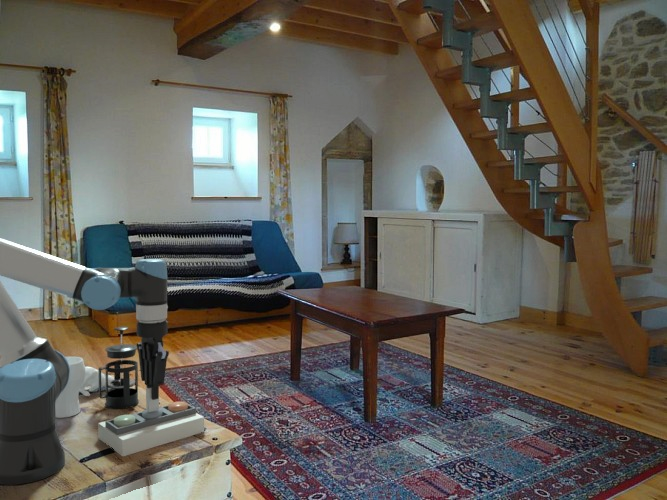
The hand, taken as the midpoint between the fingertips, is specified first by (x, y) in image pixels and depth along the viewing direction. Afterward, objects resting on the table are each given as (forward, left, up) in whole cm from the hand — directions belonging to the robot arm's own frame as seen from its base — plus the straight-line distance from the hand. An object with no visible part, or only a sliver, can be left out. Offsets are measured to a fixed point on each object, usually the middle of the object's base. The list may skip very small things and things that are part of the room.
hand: (152, 410), depth 145 cm
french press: (+19, +20, -7) cm, 28 cm away
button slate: (0, 0, -2) cm, 2 cm away
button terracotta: (+6, -4, -2) cm, 8 cm away
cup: (+9, +31, -7) cm, 33 cm away
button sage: (-6, +4, -2) cm, 8 cm away
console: (0, 0, -7) cm, 7 cm away
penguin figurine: (+27, +33, -7) cm, 43 cm away
